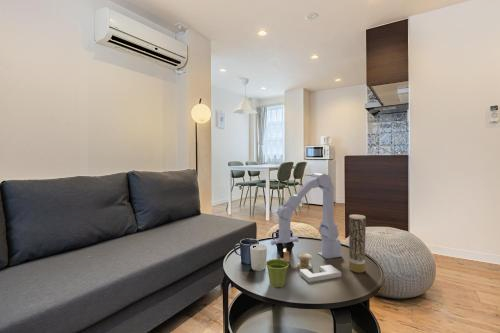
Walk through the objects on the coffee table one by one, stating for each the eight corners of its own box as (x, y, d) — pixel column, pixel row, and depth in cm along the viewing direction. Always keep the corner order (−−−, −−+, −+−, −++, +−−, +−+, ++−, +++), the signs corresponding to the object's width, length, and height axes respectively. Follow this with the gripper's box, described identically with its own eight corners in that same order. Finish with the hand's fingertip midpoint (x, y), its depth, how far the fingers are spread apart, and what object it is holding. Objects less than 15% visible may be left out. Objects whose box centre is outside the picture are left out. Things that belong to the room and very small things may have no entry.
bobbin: (307, 262, 127) (307, 252, 127) (314, 268, 120) (314, 257, 120) (294, 264, 125) (294, 254, 124) (301, 270, 118) (301, 259, 118)
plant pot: (274, 276, 113) (274, 257, 112) (293, 283, 107) (293, 262, 106) (261, 285, 105) (261, 264, 105) (280, 292, 100) (280, 270, 99)
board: (329, 268, 120) (330, 264, 120) (341, 276, 112) (341, 271, 112) (299, 274, 115) (299, 269, 115) (308, 282, 107) (308, 277, 107)
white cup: (267, 264, 125) (267, 244, 125) (266, 271, 117) (266, 250, 117) (251, 264, 126) (250, 243, 125) (249, 271, 118) (249, 249, 118)
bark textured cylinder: (366, 273, 114) (367, 218, 113) (350, 272, 116) (350, 217, 115) (363, 267, 121) (363, 214, 120) (347, 266, 122) (348, 214, 121)
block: (285, 258, 131) (285, 248, 131) (289, 261, 128) (289, 251, 127) (280, 259, 131) (280, 249, 130) (283, 262, 127) (283, 252, 127)
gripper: (293, 226, 134) (294, 252, 135) (268, 229, 130) (268, 256, 131) (300, 230, 128) (300, 257, 128) (273, 233, 123) (273, 261, 124)
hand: (284, 257), depth 129 cm, fingers closed on block, 3 cm apart
